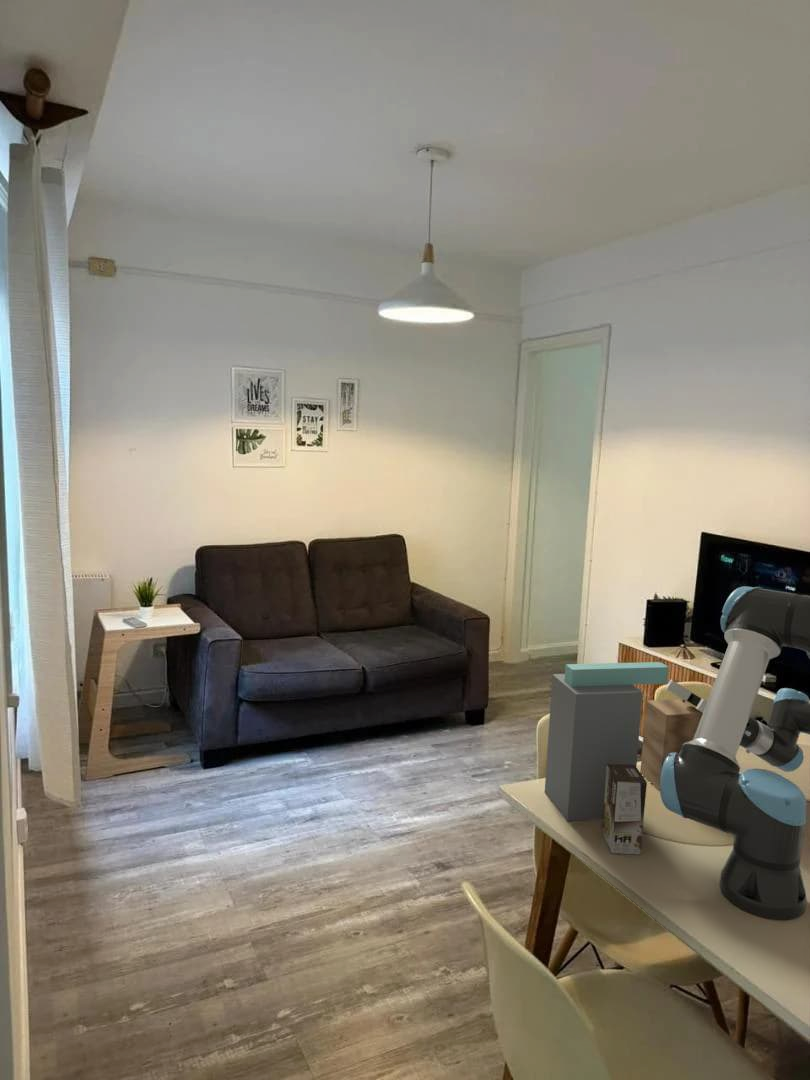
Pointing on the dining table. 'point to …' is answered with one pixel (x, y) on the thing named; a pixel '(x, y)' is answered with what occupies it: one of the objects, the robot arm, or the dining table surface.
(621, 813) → the coffee box
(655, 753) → the walnut pedestal
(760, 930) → the dining table surface
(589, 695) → the tall stand
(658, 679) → the teal bar
